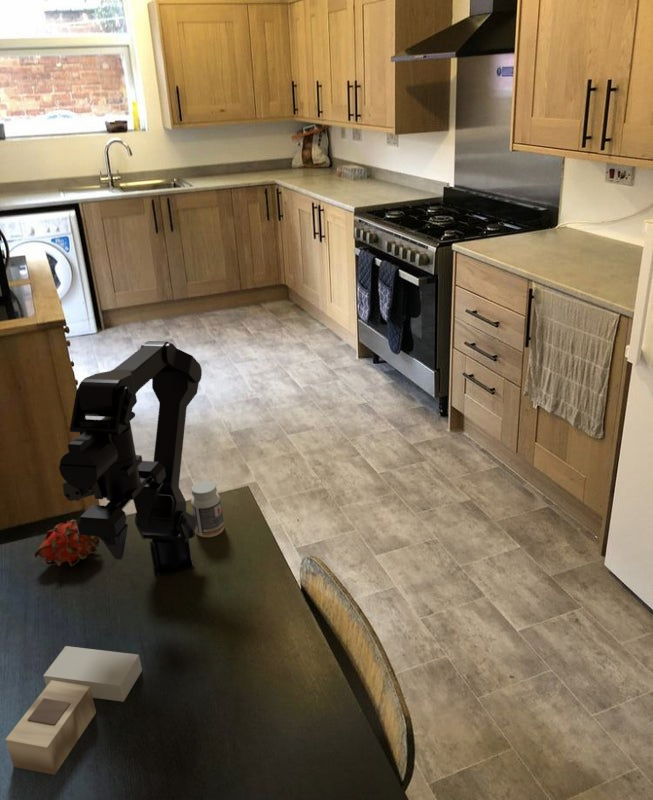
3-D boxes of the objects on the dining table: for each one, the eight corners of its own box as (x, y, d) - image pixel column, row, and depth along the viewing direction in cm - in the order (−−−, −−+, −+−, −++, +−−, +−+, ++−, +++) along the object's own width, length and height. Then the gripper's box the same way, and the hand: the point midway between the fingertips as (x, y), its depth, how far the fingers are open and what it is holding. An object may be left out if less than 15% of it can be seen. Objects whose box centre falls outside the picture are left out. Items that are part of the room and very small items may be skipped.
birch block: (51, 679, 97) (4, 738, 88) (89, 685, 95) (46, 746, 87) (58, 707, 99) (14, 767, 90) (96, 713, 97) (55, 776, 89)
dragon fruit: (111, 558, 134) (48, 585, 130) (97, 520, 137) (35, 545, 133) (104, 543, 126) (36, 571, 123) (89, 503, 130) (23, 529, 126)
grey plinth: (69, 661, 107) (65, 646, 106) (142, 670, 104) (139, 654, 103) (47, 691, 101) (43, 675, 100) (123, 701, 99) (120, 685, 98)
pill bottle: (229, 524, 140) (224, 481, 136) (216, 540, 135) (210, 496, 131) (203, 520, 141) (197, 477, 138) (190, 536, 136) (183, 492, 133)
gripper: (98, 427, 116) (113, 508, 122) (33, 483, 100) (55, 573, 106) (160, 430, 114) (173, 512, 120) (105, 487, 97) (122, 579, 103)
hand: (132, 542), depth 112 cm, fingers open, 9 cm apart
